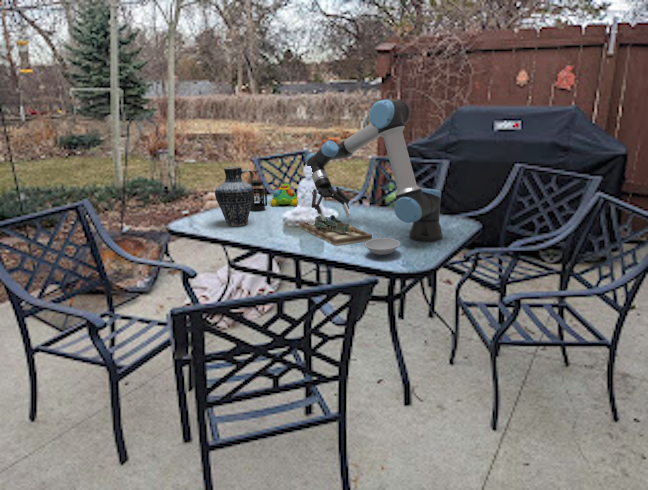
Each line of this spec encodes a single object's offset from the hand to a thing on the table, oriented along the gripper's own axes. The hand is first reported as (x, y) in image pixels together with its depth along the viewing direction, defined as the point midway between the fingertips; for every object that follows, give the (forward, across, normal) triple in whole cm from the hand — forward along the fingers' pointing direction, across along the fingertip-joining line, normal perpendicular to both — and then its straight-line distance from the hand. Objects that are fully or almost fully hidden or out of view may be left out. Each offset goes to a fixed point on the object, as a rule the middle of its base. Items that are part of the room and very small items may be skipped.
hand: (336, 217), depth 236 cm
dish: (+32, -1, +20) cm, 38 cm away
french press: (-44, +13, -56) cm, 72 cm away
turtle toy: (-49, -8, -62) cm, 80 cm away
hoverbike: (+4, 0, -7) cm, 8 cm away
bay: (+4, 0, -8) cm, 9 cm away
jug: (-24, +35, -37) cm, 56 cm away
